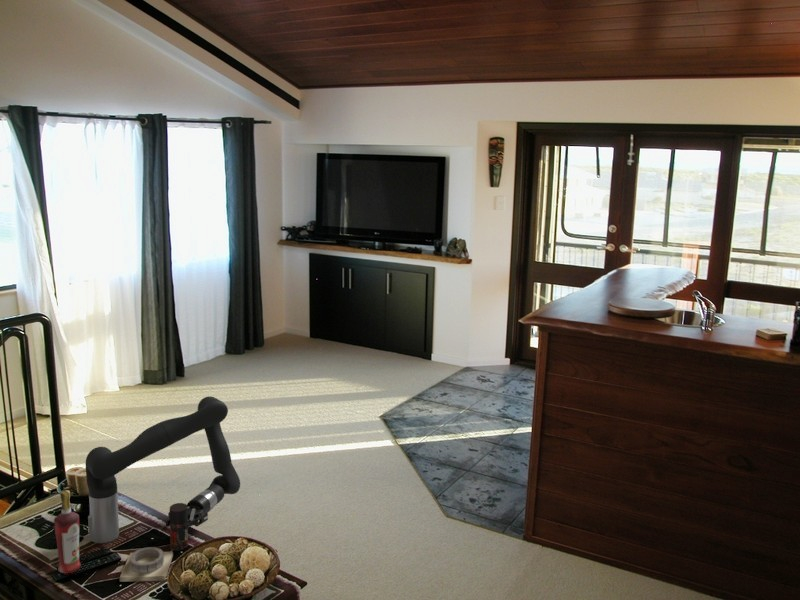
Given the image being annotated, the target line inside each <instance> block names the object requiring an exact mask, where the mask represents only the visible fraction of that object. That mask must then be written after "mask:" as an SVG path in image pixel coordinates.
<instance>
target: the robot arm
mask: <svg viewBox="0 0 800 600" xmlns="http://www.w3.org/2000/svg"><path fill="white" fill-rule="evenodd" d="M228 413H229V409H228V406H227V405H226V403H224V401H222V400H220V399H218V398H217V397H214V396H212V395H211V396H205V397H203V398H202V399H201V400H200V401H199V402H198V404H197V410H196V411H195V412H192V413H191V414H188V415H185V416H179V417H174V418H170V419H166V420H162V421H160V422H158V423H156V424H154V425H152V426H149V427H148V428H146V429H145V430H143V431H142V432H141V433H140V434H138V436H136V438H135V439H133V440H132V441H131V442H130V443H128V444H127V445H126V446H124V447H123V446H122V447H121V448H119V449H117V450H115V451H112V450H111V449H109V448H108V447H106V446H96V447H95V448H92V449H91V450H90V451H89V452H88V454H87V456H86V458H85V475H86V476H85V477H86V486H87V490H88V499H89V503H88V504H89V515H88V516H87V520H88V523H87V524H88V541H89V542H93V543H95V544H107V543H110V542H111V543H112V542H113V541H115V540H116V539H118V537H119V536H120V526H119V525H120V524H119V523H120V522H119V521H120V519H119V500H118V499H119V497H118V495H119V494H118V484H117V480H116V475H117V474H118V473H120V472H122V471H124V470H125V469H127V468H128V467H130V466H132V465H133V464H135V463H137V462H140V461H141V460H143V459H145V458H147V457H149V456H151V455H153V454H155V453H157V452H159V451H162V450H164V449H166V448H167V447H169V446H172V445H174V444H175V443H178V442H179V441H181V440H183V439H185V438H187V437H188V438H189V436H191V435H194V434H196V433H197V432H200V431H202V430H204V432H205V435H206V438H207V443H208V446H209V451H210V456H211V462H212V465H213V469H214V470H213V471H214V472H215V473H217V474H219V475H217V476H216V477H214V479H213V480H211V483H210V484H209V486H208V487H207V488H206V489H204V490H203V491H201V492H199V493H198V494H196V496H195V497H193V498H192V499H191V500H189V501H188V502H187V504H186V505H187V510H188V520H187V521H186V522H185V523H184V524H182V530H183V531H184V530H186V529H188V530H189V528H190V527H193V526H194V527H199V526H201V525H202V524H203V523H206V522H207V521H208V520H209V512H211V511H212V510H213V509H214V508H215V506H217V505H218V504H219V503H220V502H221V501H222V500H224V497H225V495H235V494H237V493H238V492H239V491H240V489H241V479H240V476H239V474H238V473H237V471H236V469H235V467H234V465H233V461H232V457H231V453H230V449H229V445H228V442H227V440H226V438H225V436H224V432H223V430H222V426H221V423H222V422H223V421H224V420H225V419H226V417H227V416H228ZM167 514H168V515H167V517H168V518H167V519H166V520H165V527H167V528H168V527H169V528H170V511H169V512H168V513H167Z"/></svg>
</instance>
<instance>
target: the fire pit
mask: <svg viewBox="0 0 800 600" xmlns="http://www.w3.org/2000/svg"><path fill="white" fill-rule="evenodd" d="M173 557H174V551H163V550H162V549H161V548H158V547H157V546H146V547H143V548H140V549H139V548H138V549H136V550H135V551H134V552H129V556H128V558H127V560H126V561H125V565H124V567H123V569H122V571H121V573H120V575H119V582H121V583H122V582H123V583H125V582H152V581H153V582H162V581H165V580H166V578H167V575H168V572H169V569H170V566H171V562H172V560H173Z"/></svg>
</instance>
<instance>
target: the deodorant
mask: <svg viewBox="0 0 800 600" xmlns="http://www.w3.org/2000/svg"><path fill="white" fill-rule="evenodd" d="M169 512H170V526H169V535H170V537H169V538H170V539H169V540H170V541H169V543H170V544H169V545H170V549H171V550H172V551H176V552H177V551H178V552H179V551H182V550H183V549H184V548H186V547H187V546H188V547H189V528H188V529H186V530H184V531H183V530H182V524H184V523H185V522H186V521H187V520H188V510H187V504H186V503H183V502H177V503H174V504H172V505H170V506H169ZM188 547H187V548H188ZM187 548H186V549H187ZM184 550H185V549H184Z"/></svg>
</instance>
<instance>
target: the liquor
mask: <svg viewBox="0 0 800 600" xmlns="http://www.w3.org/2000/svg"><path fill="white" fill-rule="evenodd" d="M70 491H71V490H66V489H65V490H63V491H61V492H60V500H61V513H60V514H58V515H57V516H55V517H54V520H53V523H54V533H55V538H56V540H55V541H56V547H57V556H58V567H57V571H58V572H59V573H62V574H63V573H65V574H64V575H69V574H68V573H72V574H74V573H76V572H77V571H78V570H79V569H80V568H81V566H82V563H81V562H80V515H79V514H78V513H76V512H74V511H72V508H71V502H70V498H71V492H70ZM76 570H77V571H76ZM73 572H74V573H73ZM66 573H67V574H66Z"/></svg>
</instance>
